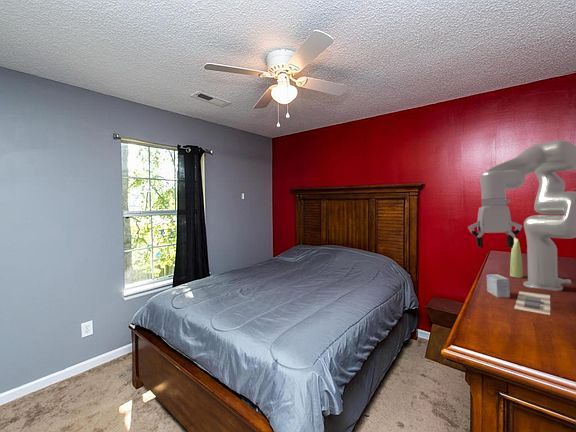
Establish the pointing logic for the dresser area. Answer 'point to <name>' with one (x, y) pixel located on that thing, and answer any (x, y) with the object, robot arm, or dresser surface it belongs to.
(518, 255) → the tube
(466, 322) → the dresser surface
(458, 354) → the dresser surface
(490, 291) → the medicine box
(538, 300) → the graphite tile
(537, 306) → the graphite tile
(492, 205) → the robot arm
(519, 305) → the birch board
